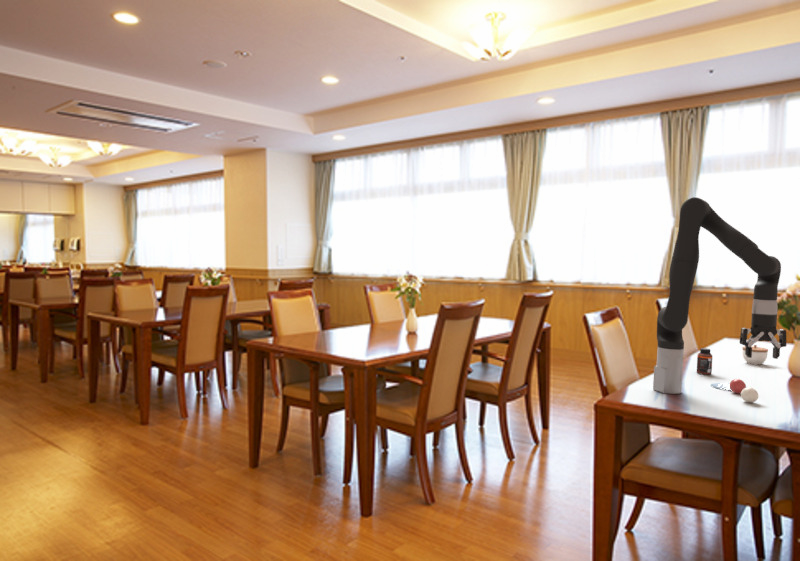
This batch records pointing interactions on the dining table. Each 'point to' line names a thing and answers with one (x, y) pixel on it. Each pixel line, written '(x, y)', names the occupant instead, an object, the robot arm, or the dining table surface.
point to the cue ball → (749, 394)
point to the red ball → (737, 385)
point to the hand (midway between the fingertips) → (761, 357)
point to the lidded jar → (756, 355)
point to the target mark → (718, 387)
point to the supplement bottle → (704, 362)
